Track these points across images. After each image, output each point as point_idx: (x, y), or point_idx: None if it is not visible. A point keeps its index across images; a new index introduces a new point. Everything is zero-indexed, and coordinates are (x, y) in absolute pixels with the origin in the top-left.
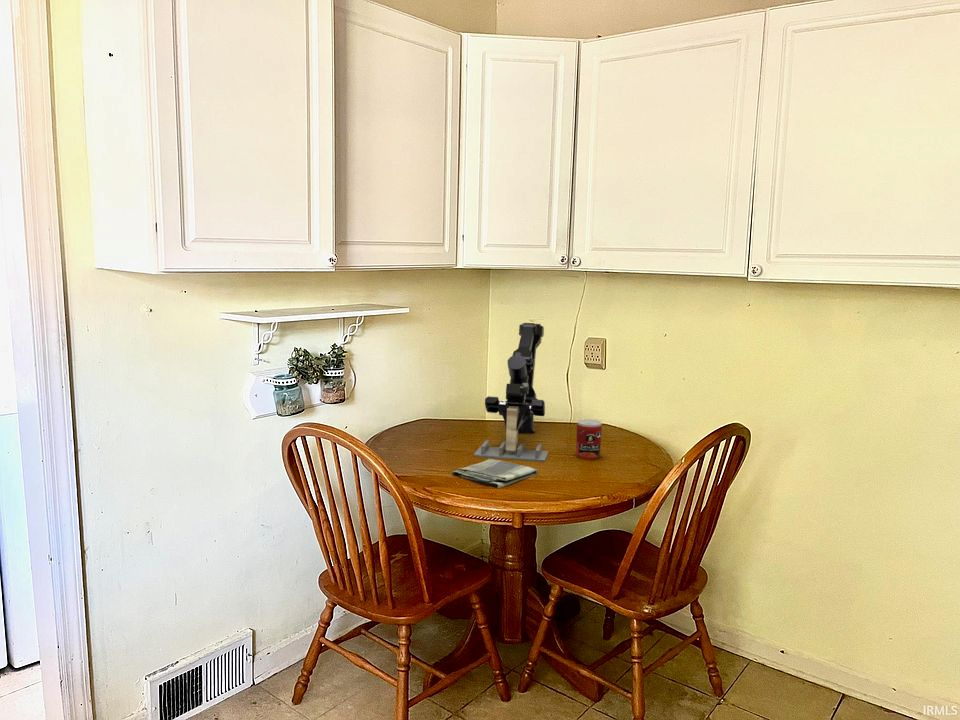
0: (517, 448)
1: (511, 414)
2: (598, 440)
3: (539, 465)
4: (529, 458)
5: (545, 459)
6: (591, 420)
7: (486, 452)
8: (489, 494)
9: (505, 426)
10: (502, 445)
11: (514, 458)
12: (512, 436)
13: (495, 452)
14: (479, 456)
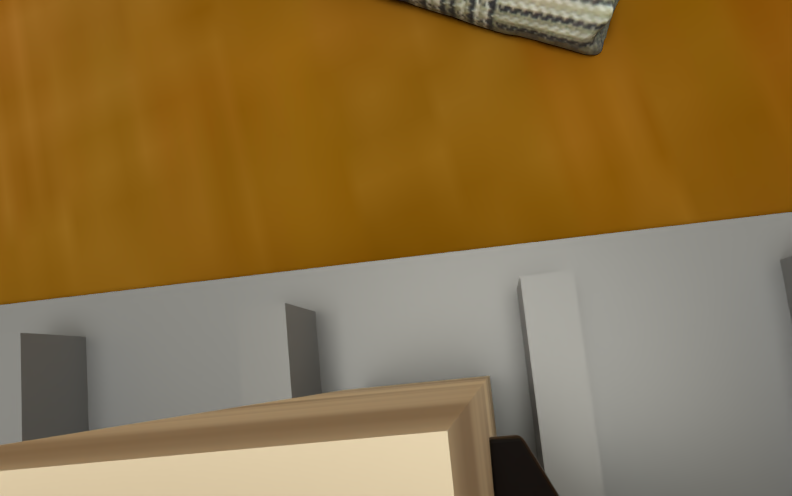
0: (285, 333)
1: (201, 429)
2: None
3: (22, 159)
4: (149, 305)
5: None
6: None
7: (784, 362)
8: None
9: (530, 450)
10: (561, 419)
11: (338, 267)
12: (351, 393)
13: (656, 411)
14: None
